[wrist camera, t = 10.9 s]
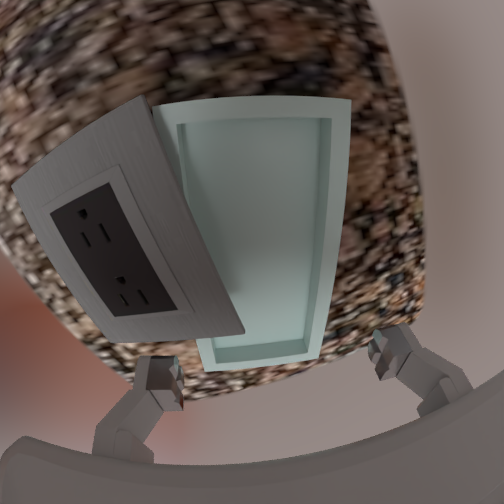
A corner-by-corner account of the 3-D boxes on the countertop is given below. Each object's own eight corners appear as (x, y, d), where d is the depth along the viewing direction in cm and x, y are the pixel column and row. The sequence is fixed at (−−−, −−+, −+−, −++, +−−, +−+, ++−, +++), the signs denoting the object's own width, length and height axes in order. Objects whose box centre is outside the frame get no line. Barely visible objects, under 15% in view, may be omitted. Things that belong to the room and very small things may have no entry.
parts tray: (161, 105, 12) (152, 106, 10) (335, 98, 13) (351, 99, 11) (205, 352, 22) (205, 371, 20) (312, 340, 22) (318, 358, 21)
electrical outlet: (32, 172, 13) (7, 187, 11) (161, 92, 10) (137, 95, 8) (121, 323, 20) (109, 345, 18) (248, 308, 17) (244, 338, 15)
